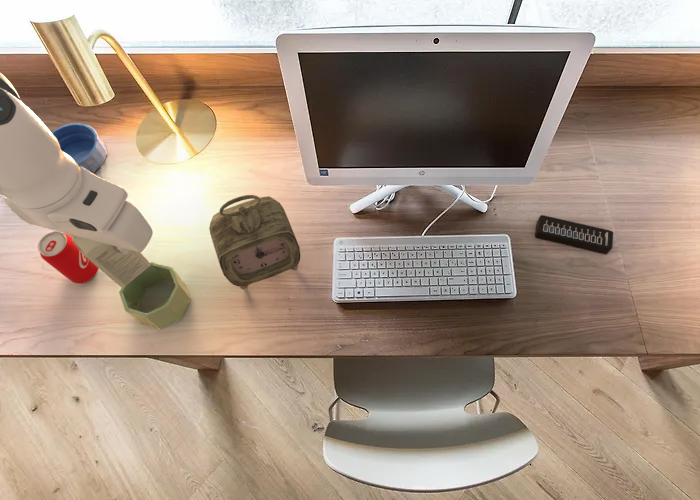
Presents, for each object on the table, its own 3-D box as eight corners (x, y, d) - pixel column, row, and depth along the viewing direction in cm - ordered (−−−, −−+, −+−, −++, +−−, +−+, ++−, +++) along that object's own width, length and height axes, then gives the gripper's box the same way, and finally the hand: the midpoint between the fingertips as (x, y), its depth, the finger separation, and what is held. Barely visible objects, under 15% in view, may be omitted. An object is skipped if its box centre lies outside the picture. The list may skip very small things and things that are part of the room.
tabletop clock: (237, 297, 98) (199, 234, 76) (226, 260, 102) (186, 190, 80) (306, 272, 100) (287, 203, 78) (291, 236, 104) (270, 162, 82)
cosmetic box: (138, 250, 87) (106, 212, 76) (152, 265, 85) (121, 229, 75) (107, 273, 85) (69, 238, 74) (120, 289, 83) (84, 256, 73)
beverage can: (105, 261, 103) (75, 233, 92) (90, 288, 100) (57, 261, 90) (79, 255, 104) (46, 225, 93) (64, 281, 101) (28, 253, 91)
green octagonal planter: (127, 320, 97) (110, 306, 90) (151, 273, 101) (137, 258, 95) (175, 333, 95) (161, 321, 89) (197, 286, 99) (186, 270, 93)
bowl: (40, 175, 115) (27, 161, 110) (70, 132, 120) (59, 118, 116) (89, 186, 112) (78, 173, 108) (117, 143, 118) (108, 129, 114)
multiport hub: (537, 220, 104) (540, 214, 102) (608, 236, 101) (613, 231, 99) (534, 237, 102) (537, 231, 100) (607, 254, 99) (612, 249, 97)
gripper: (-26, 195, 65) (36, 245, 77) (111, 230, 62) (153, 277, 74) (3, 158, 68) (58, 213, 80) (135, 190, 65) (171, 242, 77)
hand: (104, 244), depth 77 cm, fingers closed on cosmetic box, 6 cm apart
